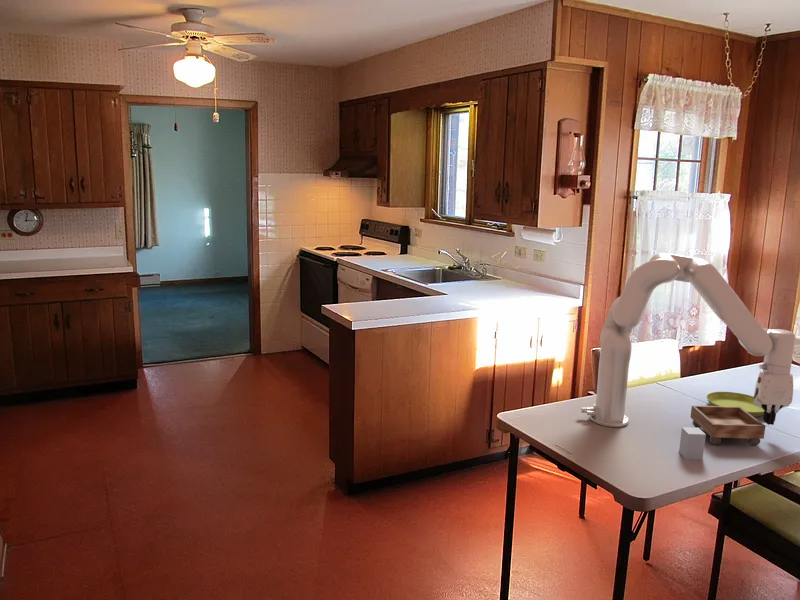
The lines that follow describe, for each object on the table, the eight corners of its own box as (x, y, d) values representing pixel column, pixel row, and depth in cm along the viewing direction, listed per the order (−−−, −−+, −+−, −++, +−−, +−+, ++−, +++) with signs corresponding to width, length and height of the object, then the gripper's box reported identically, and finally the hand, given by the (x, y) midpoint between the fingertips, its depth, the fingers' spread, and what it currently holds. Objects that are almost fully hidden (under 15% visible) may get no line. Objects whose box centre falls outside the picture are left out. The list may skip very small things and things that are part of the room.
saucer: (778, 423, 221) (779, 414, 220) (713, 417, 225) (715, 409, 224) (758, 401, 241) (759, 393, 240) (699, 397, 245) (700, 389, 244)
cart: (710, 445, 201) (713, 424, 200) (689, 425, 217) (691, 405, 215) (762, 447, 201) (765, 426, 199) (737, 426, 216) (740, 406, 215)
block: (685, 459, 192) (688, 433, 190) (679, 451, 197) (681, 427, 195) (702, 459, 192) (705, 434, 190) (695, 452, 197) (698, 427, 195)
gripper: (758, 371, 200) (750, 427, 204) (807, 373, 200) (798, 428, 204) (746, 364, 207) (739, 417, 211) (793, 365, 207) (785, 419, 211)
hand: (768, 422), depth 207 cm, fingers closed
